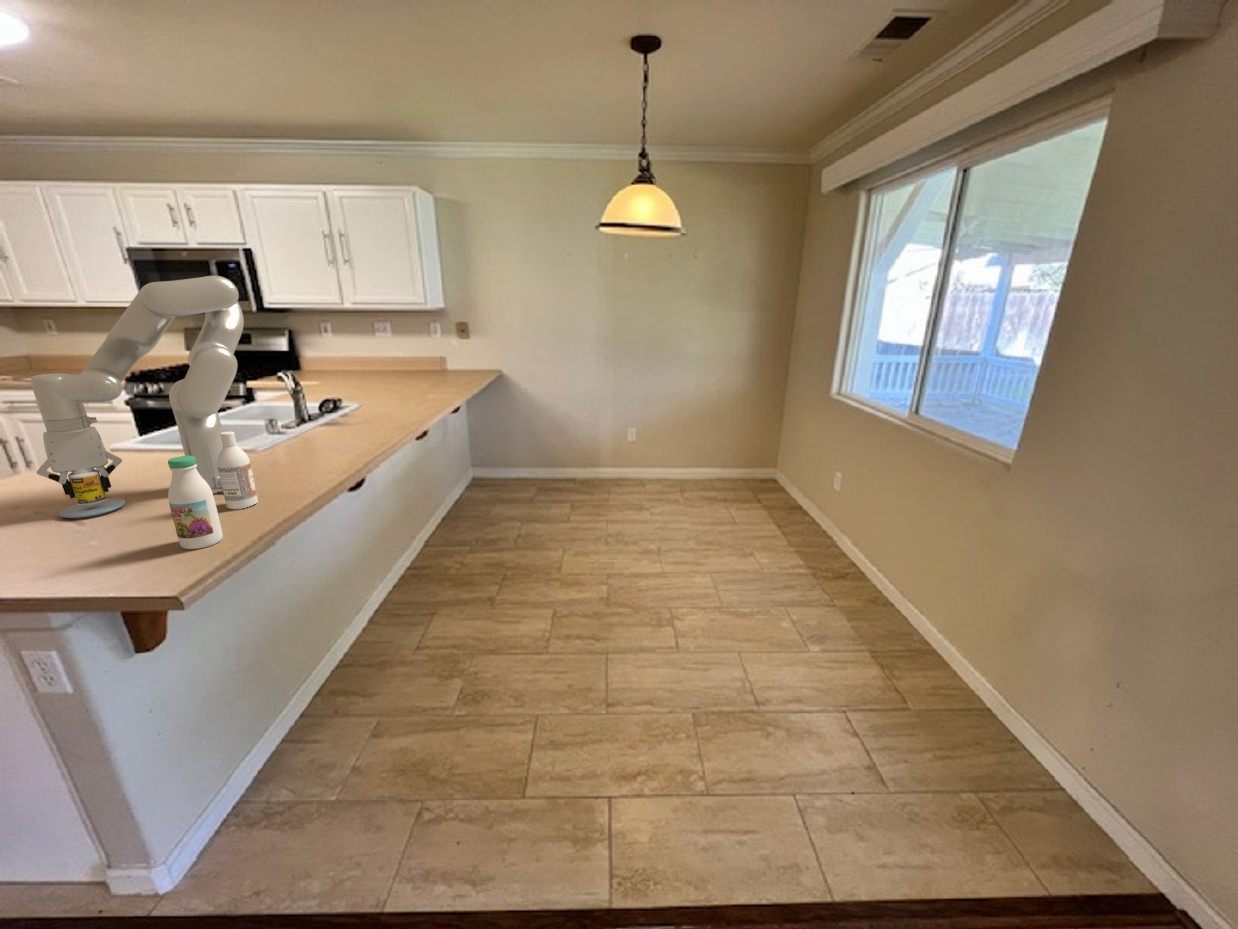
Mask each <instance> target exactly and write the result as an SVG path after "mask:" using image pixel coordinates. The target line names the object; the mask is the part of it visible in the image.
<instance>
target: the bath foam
mask: <svg viewBox="0 0 1238 929" xmlns="http://www.w3.org/2000/svg"><path fill="white" fill-rule="evenodd" d="M220 436H221V440H222V445H223V448H222V450H221V452H220V454H219V456H218V459H217V466H218V472H219V476H220V480H221V485H222V489H223V492H222V493H223V496H224V501H225V505H226V508H228V509H230V510H242V509H243V508H244V509H247V507H248V508H251V507H253V506H252V505H254V504H256V503H257V504H258V503H259V499H258V497H259V496H258V492H257V489H256V488H257V487H256V484H255V477H254V474H253V469H252V464H251V460H250V458H249V456H248V454H247V453H246V452H245V451H244V449H242V448H241V447H239V446H238V445H237V444H238V443H237V440H236V436H235V432H234V431H230V430H229V431H223V432H222V433H220ZM257 504H256V505H257ZM250 506H251V507H250ZM254 506H255V505H254Z"/></svg>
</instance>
